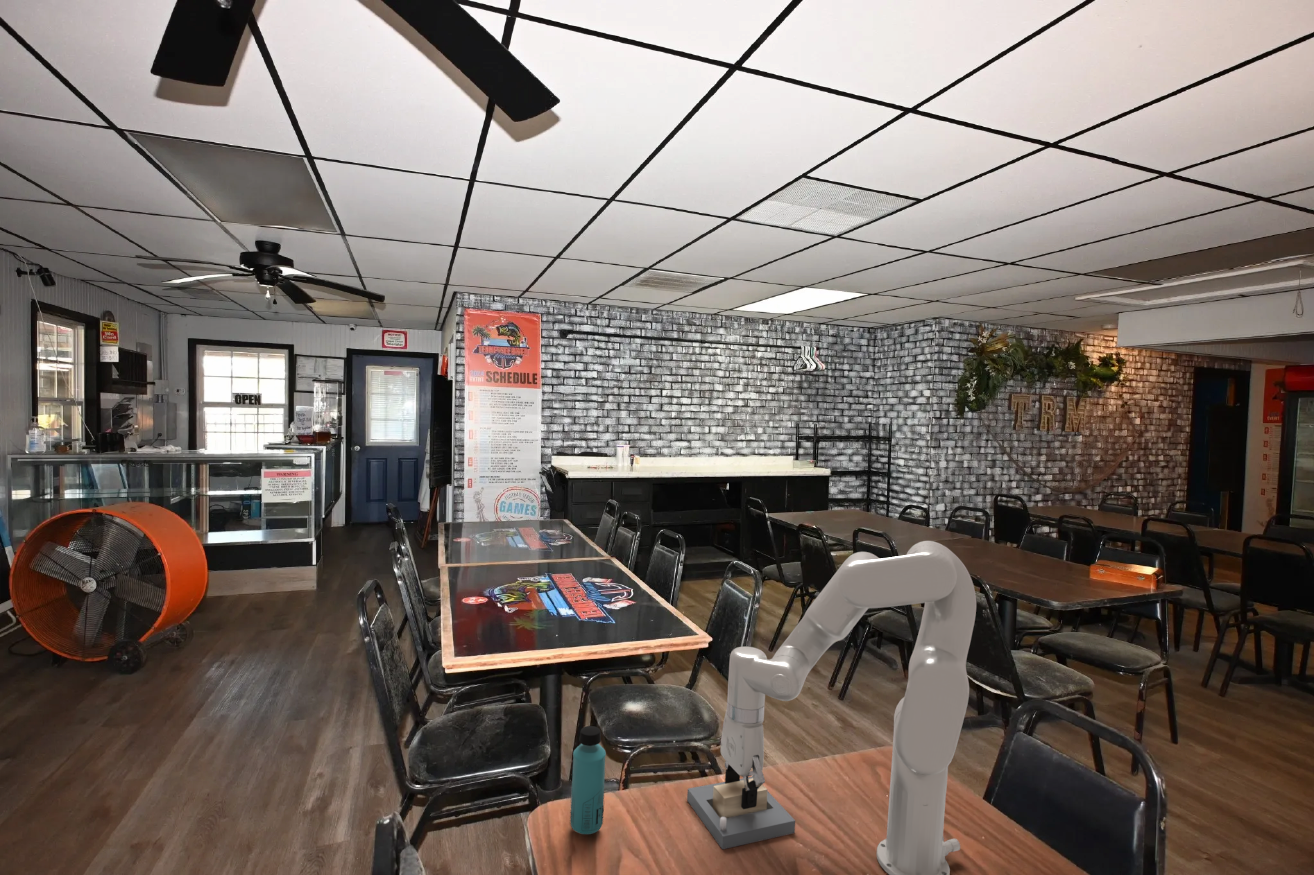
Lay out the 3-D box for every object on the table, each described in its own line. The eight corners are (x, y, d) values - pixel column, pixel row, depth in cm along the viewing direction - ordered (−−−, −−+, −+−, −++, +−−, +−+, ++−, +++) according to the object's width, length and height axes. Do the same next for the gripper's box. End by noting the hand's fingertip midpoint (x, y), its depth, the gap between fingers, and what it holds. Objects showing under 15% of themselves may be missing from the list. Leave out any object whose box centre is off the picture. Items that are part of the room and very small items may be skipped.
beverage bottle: (597, 845, 120) (602, 740, 119) (563, 839, 121) (568, 735, 121) (607, 824, 126) (612, 724, 126) (574, 818, 128) (579, 719, 127)
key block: (712, 815, 131) (713, 786, 131) (754, 806, 135) (755, 777, 135) (722, 828, 127) (724, 798, 127) (765, 818, 131) (767, 789, 131)
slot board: (753, 787, 142) (754, 767, 141) (794, 833, 127) (795, 810, 127) (687, 800, 136) (688, 779, 136) (722, 849, 121) (723, 826, 121)
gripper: (709, 694, 137) (704, 777, 138) (750, 733, 121) (745, 827, 122) (740, 690, 140) (735, 771, 141) (784, 728, 124) (779, 819, 124)
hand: (740, 796), depth 131 cm, fingers open, 6 cm apart
